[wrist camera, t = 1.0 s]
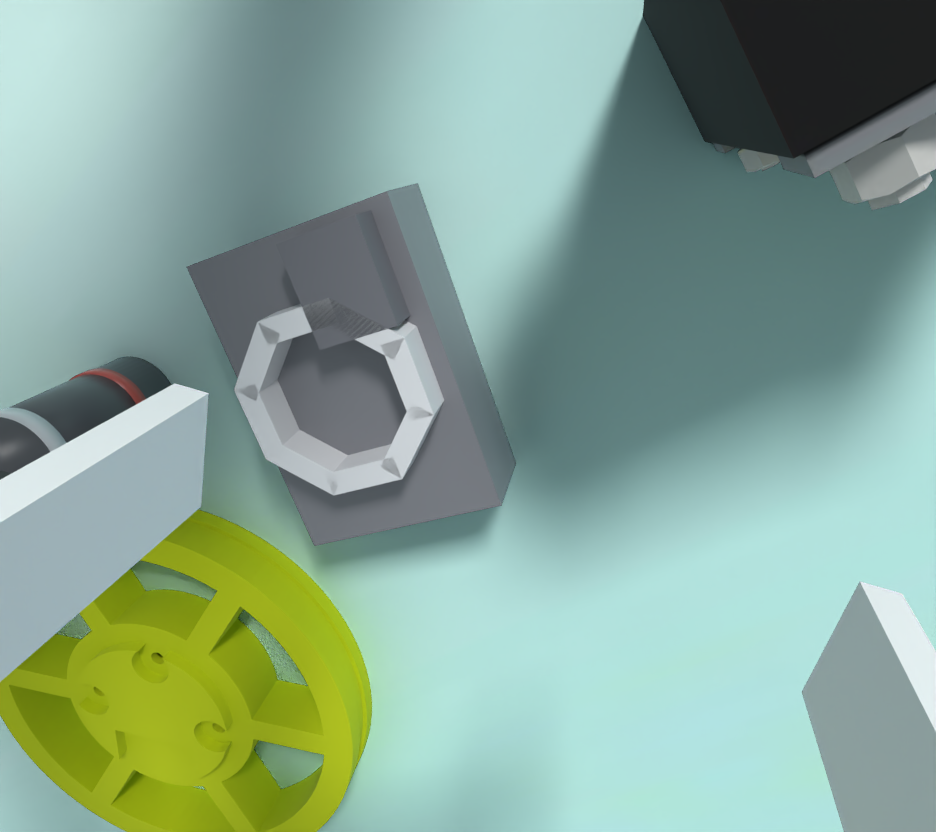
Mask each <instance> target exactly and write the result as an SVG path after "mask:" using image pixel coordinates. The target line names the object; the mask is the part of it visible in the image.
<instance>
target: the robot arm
mask: <svg viewBox="0 0 936 832" xmlns="http://www.w3.org/2000/svg"><path fill="white" fill-rule="evenodd" d="M208 397H209V393H206V392H203V391H199V390H196V389H192V388H189V387H186V386H182V385H179V384H175V383H174V384H173V385H171V386H169V387H167V388H165V389H164V390H162V391H160V392H158V393H156V394H155V395H153V396H151V397H149V398H147V399H146V400H144V401H142V402H140V403H138V404H136V405H135V406H133V407H131V408H129V409H127V410H126V411H124V412H122V413H120V414H118V415H117V416H115V417H113V418H111V419H109V420H108V421H106V422H104V423H102V424H100V425H98V426H97V427H95V428H93V429H91V430H89V431H88V432H86V433H84V434H82V435H80V436H79V437H77V438H75V439H73V440H71V441H70V442H68V443H66V444H64V445H62V446H61V447H59V448H57V449H55V450H53V451H51V452H50V453H48V454H46V455H44V456H42V457H41V458H39V459H37V460H35V461H33V462H32V463H30V464H28V465H26V466H24V467H23V468H21V469H19V470H17V471H15V472H13V473H8V472H5V471H0V682H1V681H2V680H3V679H4V678H5V677H6V676H8V675H9V674H10V673H11V672H12V671H13V670H14V669H16V668H17V667H18V666H19V665H20V664H21V663H23V662H24V661H25V660H26V659H27V658H28V657H29V656H31V655H32V654H33V653H34V652H35V651H36V650H37V649H39V648H40V647H41V646H42V645H43V644H44V643H45V642H47V641H48V640H49V639H50V638H51V637H52V636H53V635H55V634H56V633H57V632H58V631H59V630H60V629H61V628H63V627H64V626H65V625H66V624H67V623H68V622H69V621H71V620H72V619H73V618H74V617H75V616H76V615H78V614H79V613H80V612H81V611H82V610H83V609H84V608H86V607H87V606H88V605H89V604H90V603H91V602H92V601H94V600H95V599H96V598H97V597H98V596H99V595H100V594H102V593H103V592H104V591H105V590H106V589H107V588H108V587H110V586H111V585H112V584H113V583H114V582H115V581H116V580H118V579H119V578H120V577H121V576H122V575H123V574H124V573H126V572H127V571H128V570H129V569H130V568H131V567H133V566H134V565H135V564H136V563H137V562H138V561H139V560H141V559H142V558H143V557H144V556H145V555H146V554H147V553H149V552H150V551H151V550H152V549H153V548H154V547H155V546H157V545H158V544H159V543H160V542H161V541H162V540H163V539H165V538H166V537H167V536H168V535H169V534H170V533H171V532H173V531H174V530H175V529H176V528H177V527H178V526H179V525H181V524H182V523H183V522H184V521H185V520H186V519H188V518H189V517H190V516H191V515H192V514H193V513H194V512H196V511H197V510H198V509H199V508H200V507H201V502H202V487H203V472H204V457H205V442H206V427H207V412H208ZM802 694H803V698H804V701H805V704H806V708H807V711H808V714H809V718H810V721H811V724H812V727H813V731H814V734H815V737H816V741H817V744H818V747H819V751H820V754H821V757H822V761H823V764H824V767H825V770H826V774H827V777H828V780H829V784H830V787H831V790H832V794H833V797H834V800H835V804H836V807H837V810H838V813H839V817H840V820H841V823H842V827H843V830H844V832H936V651H935V649H934V647H933V646H932V644H931V642H930V640H929V639H928V637H927V635H926V634H925V632H924V630H923V628H922V627H921V625H920V623H919V622H918V620H917V618H916V616H915V615H914V613H913V611H912V610H911V608H910V606H909V604H908V603H907V601H906V599H905V598H904V596H903V594H902V593H898V592H895V591H891V590H888V589H884V588H881V587H877V586H874V585H871V584H867V583H864V582H859V584H858V586H857V588H856V590H855V591H854V593H853V595H852V597H851V599H850V601H849V603H848V605H847V607H846V609H845V610H844V612H843V614H842V616H841V618H840V620H839V622H838V624H837V626H836V628H835V630H834V631H833V633H832V635H831V637H830V639H829V641H828V643H827V645H826V647H825V649H824V650H823V652H822V654H821V656H820V658H819V660H818V662H817V664H816V666H815V668H814V669H813V671H812V673H811V675H810V677H809V679H808V681H807V683H806V685H805V687H804V689H803V690H802Z"/></svg>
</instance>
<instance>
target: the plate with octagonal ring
mask: <svg viewBox="0 0 936 832" xmlns="http://www.w3.org/2000/svg"><path fill="white" fill-rule="evenodd" d="M187 269H188V271H189V273H190V275H191V278H192V280H193V282H194V284H195V286H196V289H197V291H198V293H199V295H200V297H201V299H202V302H203V304H204V306H205V308H206V310H207V313H208V315H209V317H210V319H211V321H212V323H213V326H214V328H215V330H216V332H217V334H218V337H219V339H220V341H221V343H222V345H223V347H224V350H225V352H226V354H227V356H228V358H229V361H230V363H231V365H232V367H233V369H234V371H235V374H236V376H237V378H238V379H237V382H236V385H235V388H234V391H235V393H236V395H237V398H238V400H239V402H240V404H241V406H242V408H243V411H244V413H245V415H246V417H247V419H248V421H249V424H250V426H251V428H252V430H253V432H254V434H255V437H256V439H257V441H258V443H259V445H260V447H261V449H262V452H263V454H264V456H265V458H266V460H268V461H270V462H272V463H274V464H275V465H277V466H278V467H279V470H280V472H281V474H282V476H283V478H284V480H285V483H286V485H287V487H288V489H289V491H290V494H291V496H292V498H293V500H294V502H295V504H296V507H297V509H298V511H299V513H300V515H301V518H302V520H303V522H304V524H305V526H306V528H307V531H308V533H309V535H310V537H311V539H312V542H313V544H314V546H316V545H321V544H325V543H330V542H335V541H339V540H344V539H348V538H353V537H358V536H362V535H367V534H372V533H376V532H381V531H385V530H390V529H395V528H399V527H404V526H409V525H413V524H418V523H422V522H427V521H432V520H436V519H441V518H446V517H450V516H455V515H460V514H464V513H469V512H473V511H478V510H483V509H487V508H492V507H497V506H501V505H502V503H503V500H504V497H505V494H506V491H507V488H508V485H509V482H510V479H511V477H512V474H513V471H514V468H515V465H516V462H515V459H514V456H513V454H512V451H511V448H510V445H509V442H508V439H507V436H506V434H505V431H504V428H503V425H502V422H501V419H500V417H499V414H498V411H497V408H496V405H495V402H494V399H493V397H492V394H491V391H490V388H489V385H488V382H487V380H486V377H485V374H484V371H483V368H482V365H481V362H480V360H479V357H478V354H477V351H476V348H475V345H474V343H473V340H472V337H471V334H470V331H469V328H468V325H467V323H466V320H465V317H464V314H463V311H462V308H461V306H460V303H459V300H458V297H457V294H456V291H455V289H454V286H453V283H452V280H451V277H450V274H449V271H448V269H447V266H446V263H445V260H444V257H443V254H442V252H441V249H440V246H439V243H438V240H437V237H436V234H435V232H434V229H433V226H432V223H431V220H430V217H429V215H428V212H427V209H426V206H425V203H424V200H423V197H422V195H421V192H420V189H419V186H418V183H417V184H413V185H409V186H405V187H402V188H398V189H394V190H390V191H386V192H384V193H381V194H378V195H376V196H373V197H371V198H368V199H365V200H363V201H360V202H357V203H355V204H352V205H349V206H347V207H344V208H341V209H339V210H336V211H333V212H331V213H328V214H325V215H323V216H320V217H318V218H315V219H312V220H310V221H307V222H304V223H302V224H299V225H296V226H294V227H291V228H288V229H286V230H283V231H280V232H278V233H275V234H273V235H270V236H267V237H265V238H262V239H259V240H257V241H254V242H251V243H249V244H246V245H243V246H241V247H238V248H235V249H233V250H230V251H228V252H225V253H222V254H220V255H217V256H214V257H212V258H209V259H206V260H204V261H201V262H198V263H196V264H193V265H190V266H188V267H187Z"/></svg>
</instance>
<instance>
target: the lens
mask: <svg viewBox="0 0 936 832" xmlns="http://www.w3.org/2000/svg"><path fill="white" fill-rule="evenodd" d="M169 386H171V384H170V382H169V380H168V379H167V378H166V376H165V375H164V374H163V373H162V372H161V371H160V370H159V369H158V368H157V367H155V366H154V365H153V364H151V363H149V362H147V361H145V360H143V359H140V358H135V357H123V358H119V359H117V360H114V361H112V362H110V363H108V364H105V365H103V366H101V367H99V368H96V369H91V370H88V371H85V372H83V373H81V374H79V375H76V376H74V377H73V378H71V379H70V380H69V381H67V382H65V383H63V384H61V385H59V386H56V387H54V388H52V389H50V390H47V391H45V392H43V393H41V394H39V395H36V396H34V397H32V398H30V399H27V400H25V401H23V402H21V403H18V404H16V405H14V406H12V407H10V408H4V409H0V471H5V472H8V473H13V472H15V471H17V470H19V469H21V468H23V467H24V466H26V465H28V464H30V463H32V462H33V461H35V460H37V459H39V458H41V457H42V456H44V455H46V454H48V453H50V452H51V451H53V450H55V449H57V448H59V447H61V446H62V445H64V444H66V443H68V442H70V441H71V440H73V439H75V438H77V437H79V436H80V435H82V434H84V433H86V432H88V431H89V430H91V429H93V428H95V427H97V426H98V425H100V424H102V423H104V422H106V421H108V420H109V419H111V418H113V417H115V416H117V415H118V414H120V413H122V412H124V411H126V410H127V409H129V408H131V407H133V406H135V405H136V404H138V403H140V402H142V401H144V400H146V399H147V398H149V397H151V396H153V395H155V394H156V393H158V392H160V391H162V390H164V389H165V388H167V387H169Z"/></svg>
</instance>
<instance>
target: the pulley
mask: <svg viewBox="0 0 936 832" xmlns="http://www.w3.org/2000/svg"><path fill="white" fill-rule="evenodd" d="M140 561H145V562H149V563H153V564H157V565H160V566H164V567H167V568H170V569H173V570H175V571H178V572H181V573H183V574H185V575H188V576H190V577H192V578H194V579H196V580H198V581H200V582H202V583H204V584H206V585H208V586H210V587H211V588H213V589H215V590H217V592H216V594H215V595H214V597H213V599H212V600H211V601H209V600H207V599H204V598H202V597H199V596H196V595H193V594H190V593H186V592H182V591H176V590H150V591H146V590H145V589H144V588H143V586H142V585H141V583H140V582H139V580H138V579H137V577H136V576H135V574H134V573H133V571H132V570H131V568H130V569H129V570H128V571H127V572H126V573H124V574H123V575H122V576H121V577H120V578H119V579H118V580H116V581H115V582H114V583H113V584H112V585H111V586H110V587H108V588H107V589H106V590H105V591H104V592H103V593H102V594H100V595H99V596H98V597H97V598H96V599H95V600H94V601H92V602H91V603H90V604H89V605H88V606H87V607H86V608H84V609H83V610H82V611H81V612H80V613H79V614H80V615H81V616H82V618H83V619H84V621H85V622H86V623H87V625H88V626H89V628H90V629H91V631H90V632H89V633H88V634H87V635H86V636H85V637H84V638H83V639H78V638H73V637H68V636H63V635H58V634H55V635H53V636H52V637H51V638H50V639H49V640H48V641H47V642H45V643H44V644H43V645H42V646H41V647H40V648H39V649H37V650H36V651H35V652H34V653H33V654H32V655H31V656H29V657H28V658H27V659H26V660H25V661H24V662H23V663H21V664H20V665H19V666H18V667H17V668H16V669H14V670H13V671H12V672H11V673H10V674H9V675H8V676H6V677H5V678H4V679H3V680H2V681H1V682H0V715H1V717H2V719H3V721H4V722H5V724H6V726H7V727H8V729H9V730H10V732H11V733H12V735H13V736H14V738H15V739H16V741H17V742H18V743H19V745H20V746H21V747H22V749H23V750H24V751H25V752H26V753H27V755H28V756H29V757H30V758H31V759H32V760H33V762H34V763H35V764H36V765H37V766H38V767H39V768H40V769H41V770H42V771H43V772H44V773H45V774H46V775H47V776H48V777H49V778H50V779H51V780H52V781H53V782H54V783H55V784H56V785H58V786H59V787H60V788H61V789H62V790H63V791H65V792H66V793H67V794H68V795H69V796H71V797H72V798H73V799H75V800H76V801H77V802H79V803H80V804H81V805H83V806H84V807H86V808H87V809H88V810H90V811H91V812H93V813H95V814H96V815H98V816H99V817H101V818H103V819H104V820H106V821H108V822H109V823H111V824H113V825H115V826H117V827H119V828H120V829H122V830H125V831H127V832H316V831H318V830H319V829H320V828H321V827H322V826H323V825H324V824H325V823H326V822H327V821H328V820H329V819H330V817H331V816H332V815H333V814H334V812H335V811H336V809H337V808H338V806H339V804H340V803H341V801H342V799H343V797H344V794H345V792H346V790H347V787H348V785H349V783H350V780H351V778H352V775H353V773H354V770H355V768H356V766H357V764H358V762H359V760H360V757H361V755H362V753H363V750H364V748H365V745H366V742H367V739H368V735H369V731H370V726H371V717H372V699H371V689H370V683H369V678H368V674H367V670H366V667H365V663H364V660H363V657H362V655H361V652H360V650H359V647H358V645H357V643H356V641H355V639H354V637H353V635H352V633H351V631H350V629H349V627H348V626H347V624H346V622H345V621H344V619H343V617H342V616H341V614H340V613H339V611H338V610H337V609H336V607H335V606H334V605H333V603H332V602H331V600H330V599H329V598H328V597H327V596H326V594H325V593H324V592H323V591H322V590H321V588H320V587H319V586H318V585H317V584H316V583H315V582H314V581H313V580H312V579H311V578H310V577H309V576H308V575H307V574H306V573H305V572H304V571H303V570H302V569H301V568H300V567H299V566H298V565H296V564H295V563H294V562H293V561H292V560H291V559H289V558H288V557H287V556H286V555H284V554H283V553H282V552H280V551H279V550H278V549H276V548H275V547H273V546H272V545H270V544H269V543H268V542H266V541H265V540H263V539H261V538H260V537H258V536H256V535H255V534H253V533H251V532H250V531H248V530H246V529H244V528H242V527H240V526H238V525H236V524H234V523H232V522H230V521H227V520H225V519H223V518H220V517H218V516H215V515H213V514H210V513H207V512H204V511H201V510H197V511H196V512H194V513H193V514H192V515H191V516H190V517H189V518H188V519H186V520H185V521H184V522H183V523H182V524H181V525H179V526H178V527H177V528H176V529H175V530H174V531H173V532H171V533H170V534H169V535H168V536H167V537H166V538H165V539H163V540H162V541H161V542H160V543H159V544H158V545H157V546H155V547H154V548H153V549H152V550H151V551H150V552H149V553H147V554H146V555H145V556H144V557H143V558H142V559H141V560H140ZM243 610H245V611H247V612H248V613H249V614H250V615H252V616H253V617H254V618H255V619H256V620H257V621H258V622H259V623H261V624H262V625H263V626H264V627H265V628H266V629H267V630H268V631H269V632H270V633H271V634H272V635H273V637H274V638H275V639H276V640H277V641H278V642H279V643H280V644H281V646H282V647H283V648H284V649H285V651H286V652H287V653H288V654H289V656H290V657H291V659H292V660H293V661H294V663H295V664H296V666H297V667H298V669H299V670H300V672H301V674H302V675H303V677H304V679H305V681H306V683H307V684H308V686H305V685H300V684H295V683H290V682H286V681H281V680H277V675H276V672H275V669H274V666H273V663H272V661H271V659H270V657H269V655H268V653H267V652H266V650H265V648H264V647H263V645H262V644H261V642H260V641H259V640H258V639H257V637H256V636H255V635H254V634H253V633H252V632H251V630H250V629H249V628H248V627H247V626H246V625H244V624H243V623H242V622H241V621H240V620H239V619H238V617H239V616H240V614H241V613H242V611H243ZM259 740H260V741H264V742H269V743H273V744H278V745H282V746H287V747H291V748H296V749H300V750H305V751H309V752H314V753H318V754H323V755H324V760H323V765H322V766H321V767H320V768H318V769H317V770H316V771H315V772H314V773H313V774H311V775H310V776H308V777H307V778H305V779H304V780H302V781H300V782H298V783H296V784H294V785H292V786H289V787H287V788H284V789H281V788H280V787H279V786H278V784H277V783H276V781H275V780H274V778H273V777H272V775H271V774H270V772H269V771H268V769H267V768H266V766H265V765H264V764H263V762H262V761H261V759H260V758H259V756H258V755H257V753H256V752H255V750H254V748H255V746H256V744H257V743H258V741H259ZM192 786H203V787H204V788H205V790H203V789H199V788H195V787H192Z"/></svg>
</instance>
